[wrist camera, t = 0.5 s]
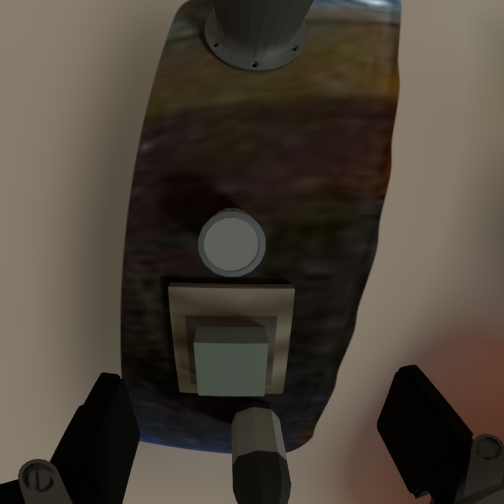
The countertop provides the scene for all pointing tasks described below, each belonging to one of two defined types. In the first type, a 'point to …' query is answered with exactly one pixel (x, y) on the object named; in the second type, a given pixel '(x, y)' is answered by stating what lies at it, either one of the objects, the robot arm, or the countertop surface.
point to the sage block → (231, 360)
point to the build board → (231, 323)
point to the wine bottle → (259, 456)
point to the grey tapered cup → (231, 243)
